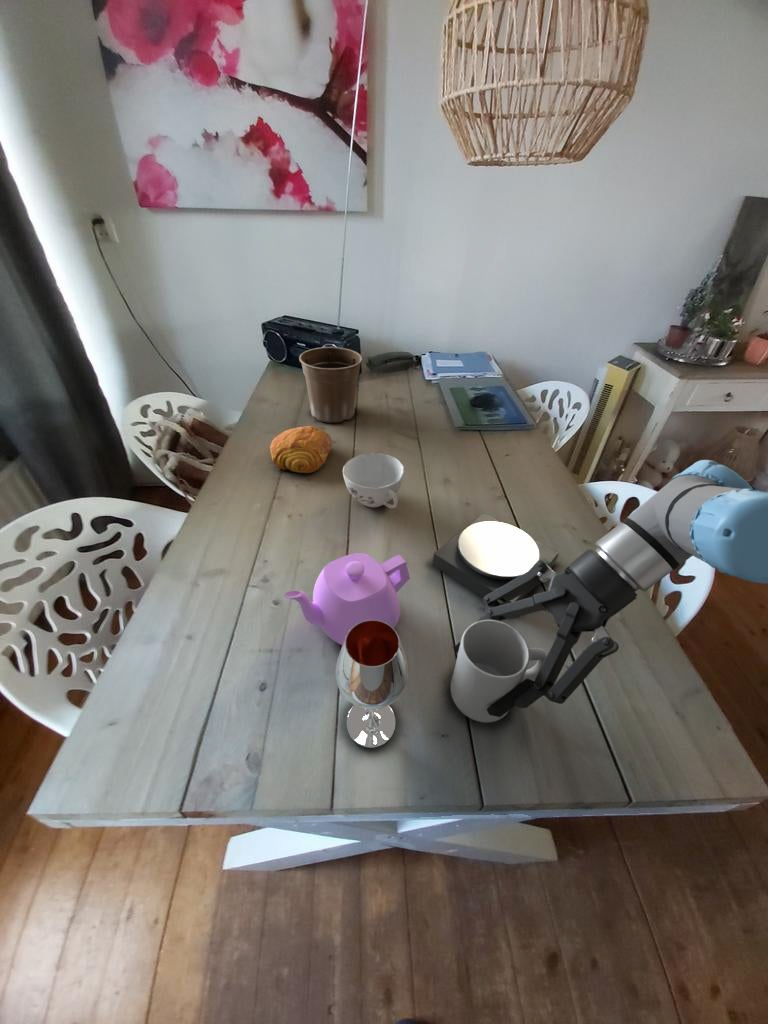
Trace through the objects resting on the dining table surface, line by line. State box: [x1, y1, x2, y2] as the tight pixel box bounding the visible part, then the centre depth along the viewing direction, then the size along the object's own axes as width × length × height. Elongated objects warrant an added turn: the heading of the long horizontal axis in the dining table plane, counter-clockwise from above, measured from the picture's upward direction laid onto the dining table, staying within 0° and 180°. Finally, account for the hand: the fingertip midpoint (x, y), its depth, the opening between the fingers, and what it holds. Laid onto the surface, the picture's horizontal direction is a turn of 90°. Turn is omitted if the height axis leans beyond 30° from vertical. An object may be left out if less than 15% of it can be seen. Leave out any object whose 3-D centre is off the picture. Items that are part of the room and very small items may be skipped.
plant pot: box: [298, 346, 363, 424], centre depth 120 cm, size 16×16×16 cm
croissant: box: [269, 425, 332, 474], centre depth 105 cm, size 14×16×8 cm
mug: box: [450, 620, 548, 723], centre depth 58 cm, size 12×8×11 cm
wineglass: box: [334, 620, 409, 749], centre depth 52 cm, size 8×8×18 cm
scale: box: [432, 512, 560, 605], centre depth 79 cm, size 16×16×4 cm
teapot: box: [283, 552, 411, 646], centre depth 67 cm, size 13×20×11 cm, turn 119°
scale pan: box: [458, 521, 539, 580], centre depth 78 cm, size 14×14×1 cm
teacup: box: [342, 452, 405, 509], centre depth 91 cm, size 15×12×8 cm
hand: (475, 680), depth 58 cm, fingers closed on mug, 8 cm apart
